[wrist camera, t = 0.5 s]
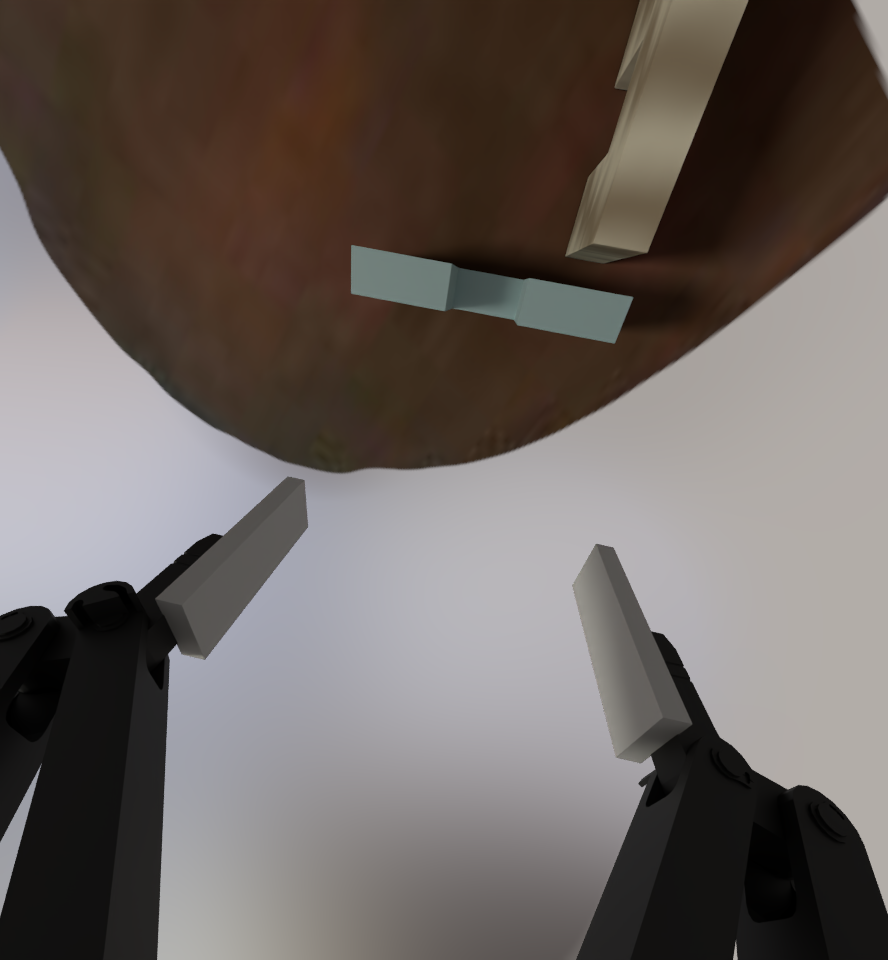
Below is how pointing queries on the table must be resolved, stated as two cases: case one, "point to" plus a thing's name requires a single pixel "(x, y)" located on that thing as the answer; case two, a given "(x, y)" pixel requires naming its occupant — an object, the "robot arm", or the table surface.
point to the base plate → (488, 294)
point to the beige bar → (653, 123)
